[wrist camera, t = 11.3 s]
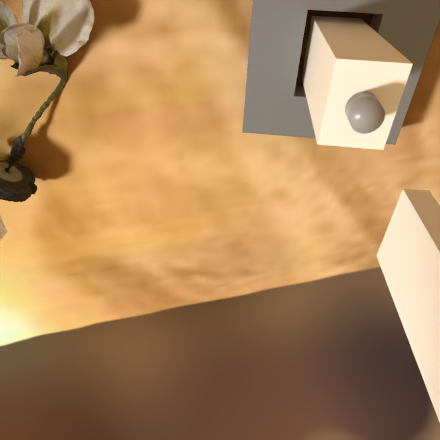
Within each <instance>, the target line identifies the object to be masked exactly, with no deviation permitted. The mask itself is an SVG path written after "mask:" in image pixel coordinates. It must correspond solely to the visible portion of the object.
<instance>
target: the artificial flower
mask: <svg viewBox="0 0 440 440" xmlns="http://www.w3.org/2000/svg"><path fill="white" fill-rule="evenodd" d="M21 19H22V22H23V23H24V24H18V21H17V19H16V16H15V15H14V13H13V12H12V10H11V9H10V8H9V7H8V6H7V5H6V4H5V3H3V2H1V1H0V59H12V60H14V61H15V63H14V65H12V66H11V67H13V68H15V69H18V72H17V73H16V75H15V77H17V76H20V75H23V76H27V75H30V74H32V73H35V72H39V71H43V72H49V73H50V74H56V75H57V76H59V77H60V78H61V81H60V83H59V85H58V86H57V88H56V89H55V91H54V92H53V93H52V94H51V95H50V96H49V98H48V99H47V101H46V102H44V104H43V105H42V106H41V107H40V109H39V111H37V112H36V114H35V116H34V117H33V118H32V120H31V122H30V123H29V125H28V127H27V129H26V131H25V132H24V134H23V136H20V137H19V138H17V139H16V141H15V142H14V144H13V147H12V150H11V156H9V161H0V199H2V200H6V201H7V200H8V201H13V202H19V201H20V202H22V201H26V199H28V198H29V197H30V196H31V194H35V193H36V191H37V186H36V185H35V184H34V182H35V177H34V175H33V174H32V173H31V171H30V170H29V169H25V168H22V167H20V166H19V165H18V164H16V163H15V162H17V161H19V160H20V159H21V158H22V155H23V154H24V153H25V151H26V150H25V148H24V147H23V145H24V142H25V139H26V138H27V137H28V136H29V135H30V134H31V132H32V129H33V127H34V125H35V122H36V121H37V120H38V119H39V118H40V117H41V115H42V114H43V112H44V111H45V109H46V108H47V107H48V106H49V105H50V103H51V101H53V100H54V99H55V97H56V96H57V95H58V93H59V92H60V90H62V89H63V87H64V85H65V83H66V82H67V67H68V62H67V60H66V59H65V57H64V56H69V55H71V54H73V53H75V52H76V51H77V50H78V49H79V48H80V47H82V46H83V45H85V44H86V43H87V41H88V39H89V35H90V32H91V30H92V27H93V24H94V20H95V19H94V9H93V7H92V4H91V2H90V0H23V12H22V14H21Z"/></svg>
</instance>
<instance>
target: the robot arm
mask: <svg viewBox="0 0 440 440" xmlns="http://www.w3.org/2000/svg"><path fill="white" fill-rule="evenodd" d="M6 233H7V230H6V228H5V225H4V223H3V221H2V219H1V216H0V240H1V239H2V238H3V236H4V235H5V234H6ZM377 258H378V261H379V263H380V266H381V269H382V271H383V274H384V276H385V279H386V282H387V285H388V287H389V290H390V292H391V295H392V298H393V300H394V303H395V305H396V308H397V311H398V313H399V316H400V319H401V321H402V324H403V327H404V329H405V332H406V335H407V337H408V340H409V343H410V345H411V348H412V351H413V353H414V355H415V358H416V361H417V364H418V366H419V369H420V372H421V374H422V377H423V379H424V382H425V385H426V387H427V390H428V393H429V395H430V398H431V401H432V403H433V406H434V408H435V411H436V414H437V416H438V419H439V422H440V206H439V204H438V203H437V201H436V200H435V198H434V197H433V195H432V194H431V192H430V191H428V190H410V189H403V190H402V193H401V196H400V198H399V201H398V203H397V206H396V208H395V211H394V213H393V216H392V218H391V221H390V223H389V226H388V228H387V231H386V233H385V236H384V238H383V241H382V243H381V246H380V249H379V251H378V254H377Z"/></svg>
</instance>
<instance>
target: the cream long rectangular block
mask: <svg viewBox="0 0 440 440" xmlns="http://www.w3.org/2000/svg"><path fill="white" fill-rule="evenodd" d="M412 65H413V63H411V62H410V61H409V60H408V59H407V58H406V57H404V56H403V55H402V54H401V53H400V52H399V51H398V50H396V49H395V48H394V47H393V46H392V45H391V44H389V43H388V42H387V41H386V40H385V39H384V38H383V37H381V36H380V35H379V34H378V33H377V32H376V31H374V30H373V29H372V28H371V27H370V26H369V25H368V24H366V23H365V22H364V21H363V20H362V19H361V18H344V17H327V16H312V18H311V24H310V30H309V36H308V42H307V48H306V54H305V60H304V66H303V72H302V81H303V85H304V89H305V94H306V98H307V102H308V106H309V111H310V115H311V119H312V123H313V128H314V132H315V136H316V140H317V144H319V145H331V146H344V147H356V148H368V149H381V150H384V147H385V144H386V141H387V138H388V135H389V132H390V129H391V126H392V123H393V120H394V118H395V115H396V112H397V109H398V106H399V103H400V100H401V97H402V94H403V91H404V88H405V85H406V82H407V79H408V76H409V74H410V71H411V68H412Z"/></svg>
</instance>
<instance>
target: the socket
mask: <svg viewBox="0 0 440 440" xmlns="http://www.w3.org/2000/svg"><path fill="white" fill-rule="evenodd" d="M308 10H323V11H340V12H357V13H373V14H372V18H371V22H370V27H371V28H372V29H373V30H374V31H376V32H377V33H378V34H379V35H380V36H381V37H383V38H384V39H385V40H386V41H387V42H388V43H389V44H391V45H392V46H393V47H394V48H395V49H396V50H398V51H399V52H400V53H401V54H402V55H403V56H404V57H406V58H407V59H408V60H409V61H410V62H411V63H413V65H412V68H411V71H410V74H409V76H408V79H407V82H406V85H405V88H404V91H403V94H402V97H401V100H400V103H399V106H398V109H397V112H396V115H395V118H394V120H393V123H392V126H391V129H390V132H389V135H388V138H387V141H386V144H394V145H395V144H396V141H397V138H398V135H399V133H400V130H401V127H402V124H403V122H404V119H405V116H406V113H407V110H408V108H409V105H410V102H411V99H412V96H413V94H414V91H415V88H416V85H417V83H418V80H419V77H420V74H421V71H422V69H423V66H424V63H425V60H426V57H427V55H428V52H429V49H430V46H431V44H432V41H433V38H434V35H435V32H436V30H437V27H438V24H439V21H440V0H253V7H252V19H251V32H250V44H249V57H248V69H247V82H246V94H245V107H244V119H243V132H244V133H257V134H269V135H282V136H294V137H307V138H316V136H315V132H314V128H313V123H312V119H311V115H310V111H309V106H308V102H307V98H306V94H305V89H304V86H296V80H297V74H298V67H299V61H300V55H301V49H302V43H303V36H304V30H305V24H306V18H307V12H308Z"/></svg>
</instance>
